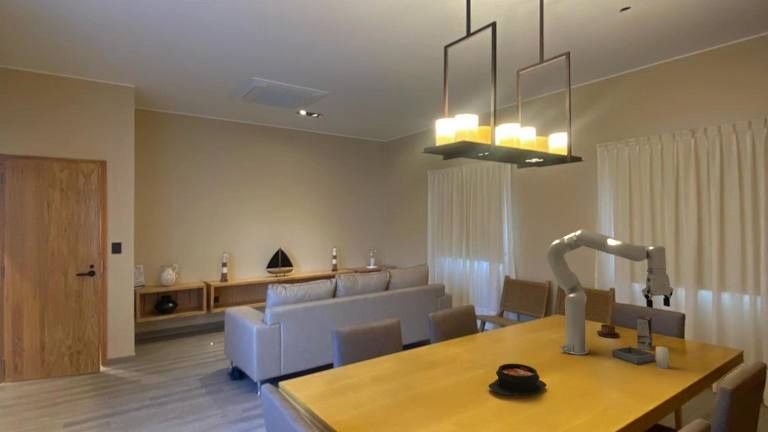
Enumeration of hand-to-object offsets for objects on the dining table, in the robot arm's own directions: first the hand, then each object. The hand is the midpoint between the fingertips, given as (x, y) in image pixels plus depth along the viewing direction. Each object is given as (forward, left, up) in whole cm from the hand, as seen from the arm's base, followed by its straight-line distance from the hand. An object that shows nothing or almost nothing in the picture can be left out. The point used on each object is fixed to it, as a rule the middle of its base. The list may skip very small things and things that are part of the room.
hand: (658, 306), depth 202 cm
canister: (-3, -3, -27) cm, 28 cm away
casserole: (-84, +3, -28) cm, 88 cm away
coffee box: (+18, +20, -28) cm, 39 cm away
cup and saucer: (+20, +44, -28) cm, 56 cm away
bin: (-5, +10, -27) cm, 29 cm away
